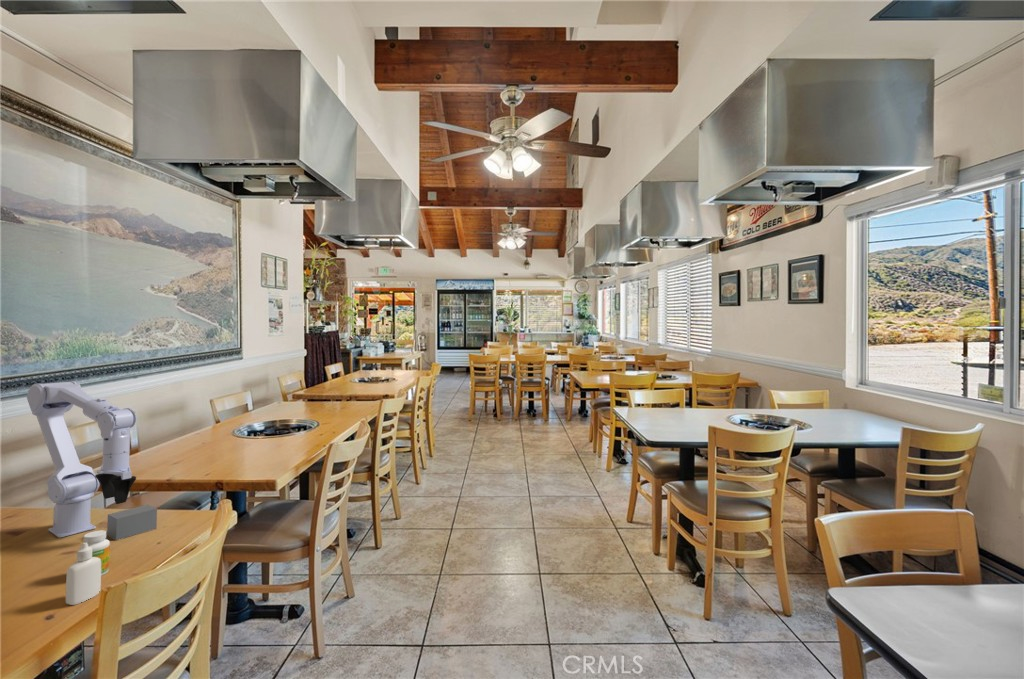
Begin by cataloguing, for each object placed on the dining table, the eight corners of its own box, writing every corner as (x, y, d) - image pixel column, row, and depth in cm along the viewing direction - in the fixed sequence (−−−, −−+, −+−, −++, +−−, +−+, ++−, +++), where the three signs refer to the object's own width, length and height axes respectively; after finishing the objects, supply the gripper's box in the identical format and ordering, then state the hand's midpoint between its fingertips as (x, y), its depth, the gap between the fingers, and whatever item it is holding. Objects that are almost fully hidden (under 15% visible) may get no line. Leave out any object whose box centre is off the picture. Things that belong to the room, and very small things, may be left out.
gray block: (107, 535, 129) (107, 514, 129) (147, 524, 137) (147, 504, 137) (116, 540, 126) (116, 518, 126) (156, 528, 134) (157, 508, 134)
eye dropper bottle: (64, 599, 97) (66, 544, 98) (99, 589, 102) (101, 536, 102) (66, 608, 95) (67, 550, 95) (102, 597, 99) (103, 542, 99)
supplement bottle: (90, 581, 105) (91, 539, 105) (72, 578, 106) (73, 537, 106) (115, 570, 110) (116, 530, 110) (97, 567, 111) (98, 527, 111)
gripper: (87, 451, 128) (86, 499, 128) (109, 459, 121) (107, 509, 121) (118, 446, 134) (117, 492, 134) (141, 453, 127) (139, 502, 127)
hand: (115, 500), depth 128 cm, fingers open, 7 cm apart
